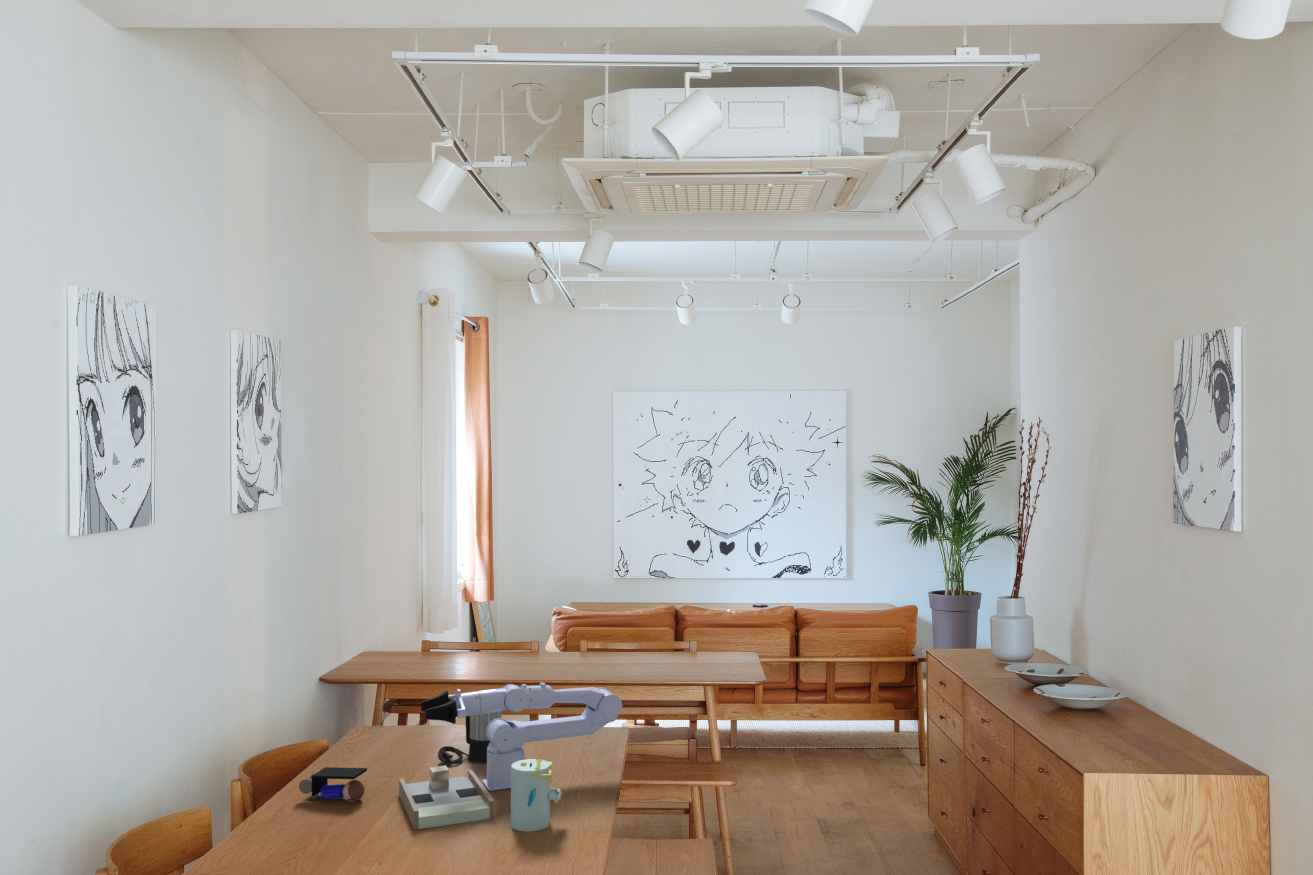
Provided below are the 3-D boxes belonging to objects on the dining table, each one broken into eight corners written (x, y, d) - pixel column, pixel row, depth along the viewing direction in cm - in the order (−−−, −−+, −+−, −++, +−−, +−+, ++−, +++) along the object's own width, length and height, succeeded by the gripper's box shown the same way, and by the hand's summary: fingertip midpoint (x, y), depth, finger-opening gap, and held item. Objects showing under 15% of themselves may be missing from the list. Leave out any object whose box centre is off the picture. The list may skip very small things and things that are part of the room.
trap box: (471, 785, 234) (472, 769, 234) (494, 817, 212) (494, 800, 212) (398, 794, 227) (399, 778, 227) (413, 829, 205) (414, 811, 205)
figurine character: (298, 808, 222) (356, 805, 219) (295, 776, 222) (353, 772, 219) (314, 798, 228) (370, 795, 226) (311, 767, 229) (368, 764, 226)
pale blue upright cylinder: (561, 840, 199) (562, 777, 200) (507, 841, 198) (508, 778, 199) (561, 807, 219) (562, 749, 220) (512, 808, 218) (513, 751, 219)
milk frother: (508, 757, 258) (509, 703, 258) (468, 772, 244) (469, 715, 245) (471, 749, 265) (472, 697, 266) (430, 763, 252) (431, 708, 253)
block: (445, 781, 229) (445, 765, 230) (448, 786, 226) (448, 769, 226) (429, 783, 228) (429, 767, 228) (432, 788, 224) (432, 771, 224)
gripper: (472, 680, 240) (418, 687, 235) (483, 693, 227) (426, 701, 222) (473, 707, 240) (419, 714, 235) (484, 722, 227) (427, 731, 222)
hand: (423, 710), depth 228 cm, fingers open, 7 cm apart
